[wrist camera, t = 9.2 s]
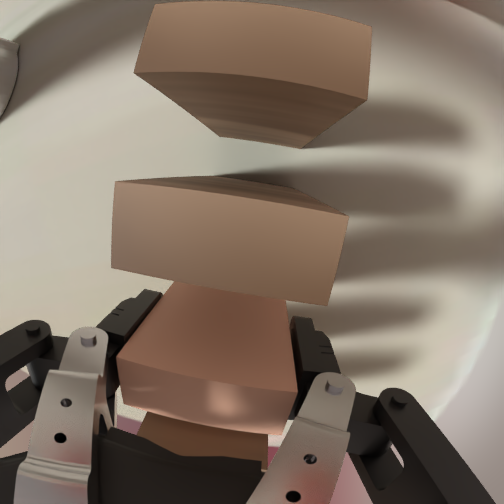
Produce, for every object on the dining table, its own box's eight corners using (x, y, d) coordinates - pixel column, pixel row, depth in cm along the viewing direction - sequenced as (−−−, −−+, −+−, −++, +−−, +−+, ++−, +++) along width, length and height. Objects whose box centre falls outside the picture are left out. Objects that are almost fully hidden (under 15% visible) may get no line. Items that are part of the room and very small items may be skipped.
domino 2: (213, 175, 17) (115, 181, 6) (293, 188, 17) (349, 216, 6) (208, 207, 18) (111, 267, 6) (287, 220, 18) (327, 305, 6)
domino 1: (224, 106, 16) (154, 4, 4) (305, 118, 16) (371, 26, 4) (219, 136, 16) (133, 72, 5) (300, 148, 16) (367, 100, 5)
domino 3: (202, 246, 18) (116, 356, 7) (279, 259, 18) (297, 392, 7) (199, 275, 19) (123, 403, 7) (273, 287, 19) (281, 435, 7)
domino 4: (197, 307, 20) (133, 442, 8) (268, 319, 19) (267, 469, 8) (195, 330, 20) (139, 466, 8) (263, 342, 20) (257, 489, 8)
